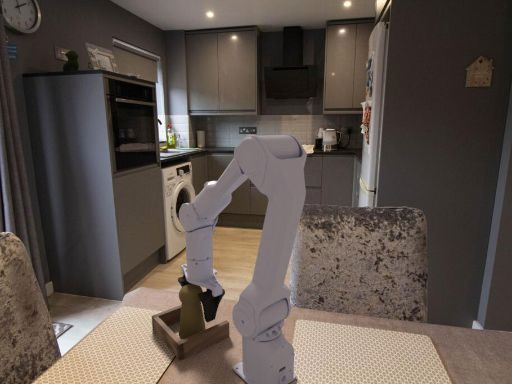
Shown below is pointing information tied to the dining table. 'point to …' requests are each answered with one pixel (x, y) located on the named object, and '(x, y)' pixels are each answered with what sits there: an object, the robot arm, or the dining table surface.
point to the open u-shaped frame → (190, 343)
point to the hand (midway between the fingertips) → (201, 312)
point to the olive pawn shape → (190, 311)
